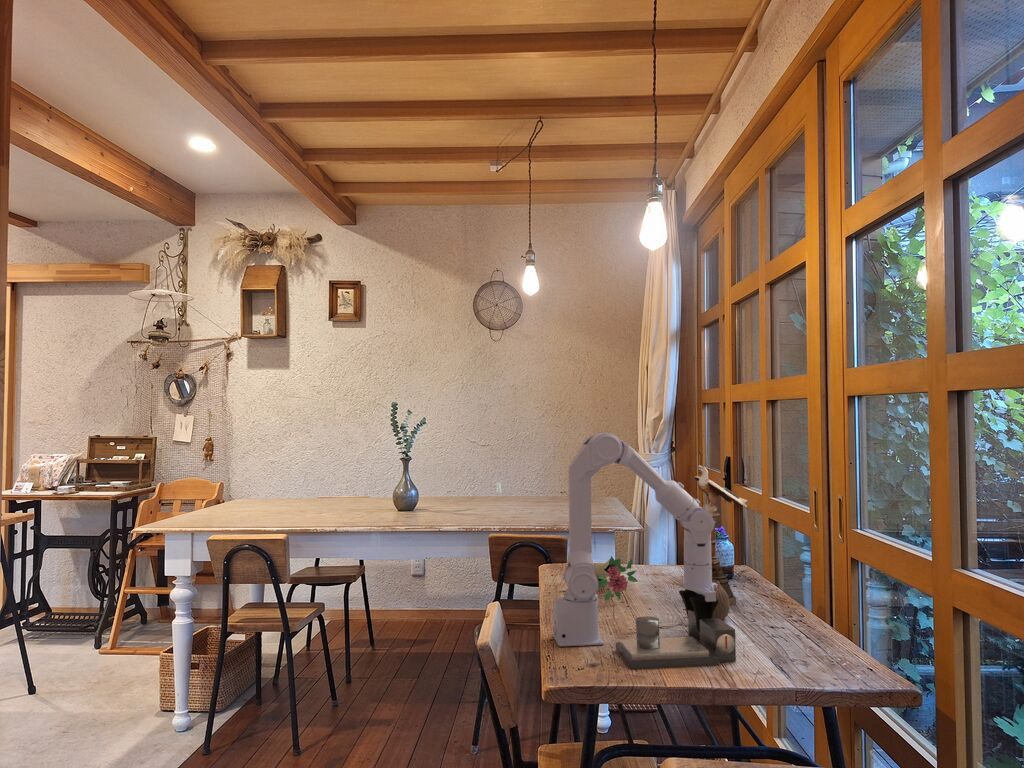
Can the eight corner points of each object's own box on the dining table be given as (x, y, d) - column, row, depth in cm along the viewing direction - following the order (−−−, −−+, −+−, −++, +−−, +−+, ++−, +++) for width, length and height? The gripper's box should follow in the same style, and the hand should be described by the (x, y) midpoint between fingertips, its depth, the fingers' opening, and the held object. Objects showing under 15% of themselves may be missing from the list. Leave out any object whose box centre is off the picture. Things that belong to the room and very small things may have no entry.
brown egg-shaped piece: (709, 624, 163) (708, 585, 164) (693, 616, 170) (692, 578, 170) (736, 621, 165) (735, 582, 166) (719, 614, 172) (718, 576, 172)
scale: (630, 669, 134) (630, 636, 134) (615, 650, 145) (615, 620, 145) (739, 664, 136) (738, 631, 137) (716, 646, 147) (715, 616, 148)
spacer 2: (692, 638, 150) (692, 614, 150) (685, 632, 155) (684, 608, 155) (713, 637, 151) (712, 613, 151) (705, 631, 155) (704, 608, 155)
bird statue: (744, 594, 191) (741, 461, 193) (761, 607, 178) (757, 464, 179) (681, 594, 191) (679, 462, 193) (694, 607, 178) (691, 465, 180)
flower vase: (613, 606, 209) (641, 610, 175) (572, 594, 209) (593, 595, 175) (623, 566, 212) (652, 561, 178) (583, 554, 212) (604, 547, 179)
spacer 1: (643, 649, 138) (642, 623, 138) (632, 643, 142) (632, 617, 142) (663, 647, 139) (662, 620, 139) (653, 641, 143) (652, 615, 143)
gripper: (729, 569, 147) (731, 637, 146) (703, 556, 161) (704, 618, 160) (696, 570, 146) (697, 638, 145) (672, 557, 160) (673, 619, 160)
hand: (698, 628), depth 153 cm, fingers closed on spacer 2, 4 cm apart
